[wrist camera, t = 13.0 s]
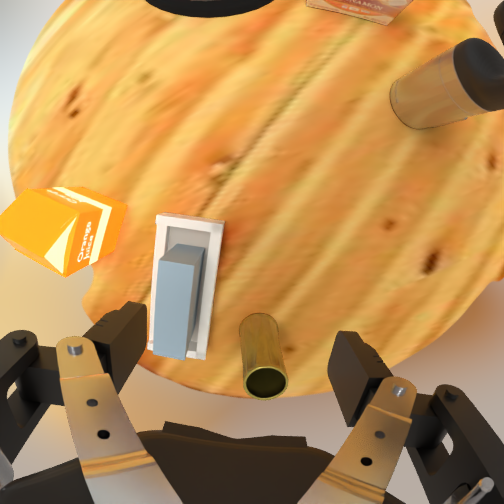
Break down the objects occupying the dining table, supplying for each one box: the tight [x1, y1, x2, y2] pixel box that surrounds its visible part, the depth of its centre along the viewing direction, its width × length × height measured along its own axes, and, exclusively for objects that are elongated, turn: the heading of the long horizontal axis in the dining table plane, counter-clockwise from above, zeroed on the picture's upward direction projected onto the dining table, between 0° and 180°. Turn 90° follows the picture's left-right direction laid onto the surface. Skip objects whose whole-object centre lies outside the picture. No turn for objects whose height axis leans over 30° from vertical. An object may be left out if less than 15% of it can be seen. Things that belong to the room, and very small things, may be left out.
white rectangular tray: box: [148, 212, 225, 360], centre depth 42 cm, size 9×20×4 cm, turn 171°
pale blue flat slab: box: [153, 243, 205, 360], centre depth 37 cm, size 4×12×10 cm, turn 170°
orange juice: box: [0, 187, 128, 277], centre depth 31 cm, size 8×9×20 cm
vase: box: [239, 313, 288, 400], centre depth 39 cm, size 6×6×14 cm
